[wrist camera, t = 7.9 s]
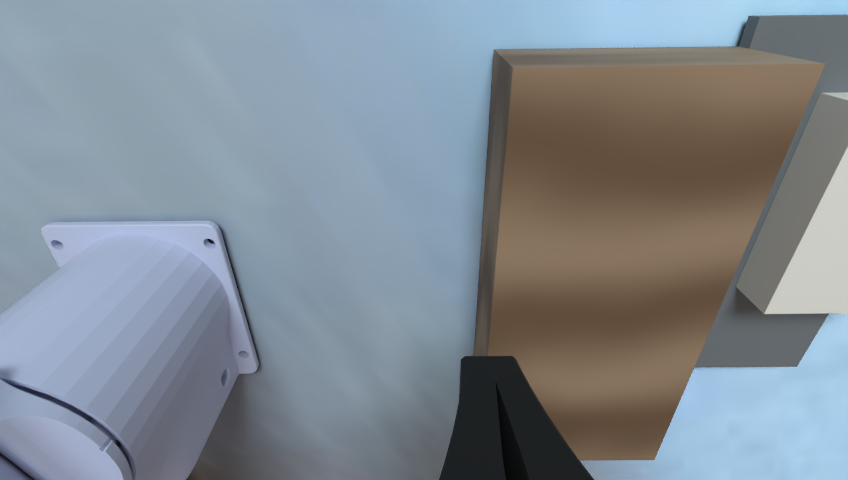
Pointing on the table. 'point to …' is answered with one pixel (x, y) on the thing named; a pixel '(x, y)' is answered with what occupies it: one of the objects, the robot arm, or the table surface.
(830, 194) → the cream foam block
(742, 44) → the mat
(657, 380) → the brown wooden block
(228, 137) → the table surface
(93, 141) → the table surface
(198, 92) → the table surface
